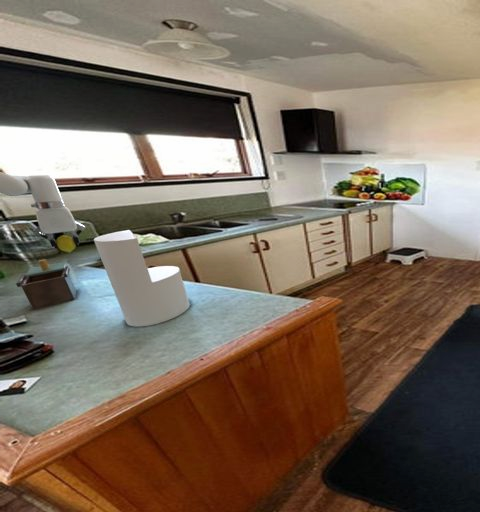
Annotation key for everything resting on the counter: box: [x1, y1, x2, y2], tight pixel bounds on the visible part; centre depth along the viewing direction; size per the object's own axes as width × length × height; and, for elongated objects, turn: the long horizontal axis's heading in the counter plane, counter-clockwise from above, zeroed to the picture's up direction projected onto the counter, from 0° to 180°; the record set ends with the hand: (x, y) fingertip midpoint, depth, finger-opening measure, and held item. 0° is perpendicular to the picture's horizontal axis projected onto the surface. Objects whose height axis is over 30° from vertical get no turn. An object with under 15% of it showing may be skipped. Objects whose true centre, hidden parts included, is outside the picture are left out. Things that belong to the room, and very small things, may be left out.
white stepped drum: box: [93, 229, 191, 327], centre depth 89 cm, size 17×17×28 cm
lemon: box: [55, 234, 77, 253], centre depth 120 cm, size 6×6×8 cm
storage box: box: [15, 265, 77, 311], centre depth 103 cm, size 12×12×11 cm
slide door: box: [25, 259, 68, 277], centre depth 107 cm, size 10×11×5 cm
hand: (67, 246), depth 120 cm, fingers closed on lemon, 5 cm apart
